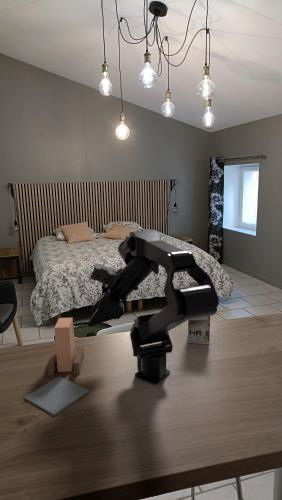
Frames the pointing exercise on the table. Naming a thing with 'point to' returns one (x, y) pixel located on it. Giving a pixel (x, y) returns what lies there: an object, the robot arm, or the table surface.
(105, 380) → the table surface
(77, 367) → the slot holder
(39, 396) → the slate mat
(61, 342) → the thick orange-brown block
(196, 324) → the coffee box
